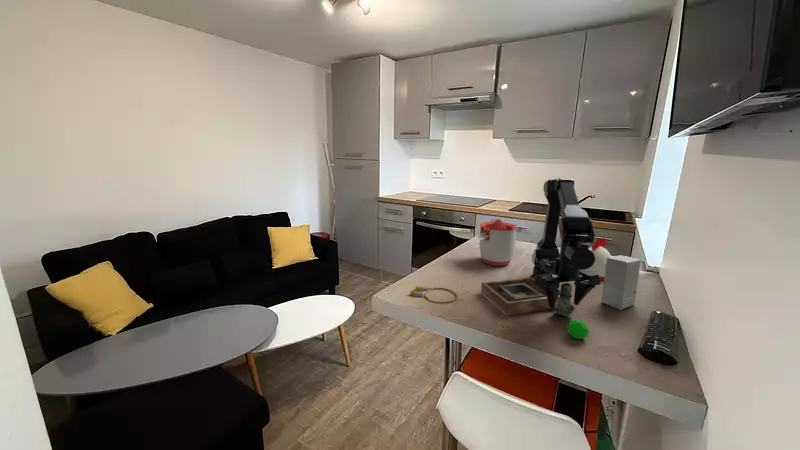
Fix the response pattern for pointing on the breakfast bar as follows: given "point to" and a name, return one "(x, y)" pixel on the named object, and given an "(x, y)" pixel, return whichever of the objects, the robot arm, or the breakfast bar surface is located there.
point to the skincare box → (621, 281)
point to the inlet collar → (509, 290)
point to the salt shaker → (564, 304)
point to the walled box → (516, 306)
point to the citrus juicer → (497, 242)
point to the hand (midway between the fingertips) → (563, 306)
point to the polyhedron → (577, 329)
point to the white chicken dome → (599, 258)
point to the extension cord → (419, 294)
